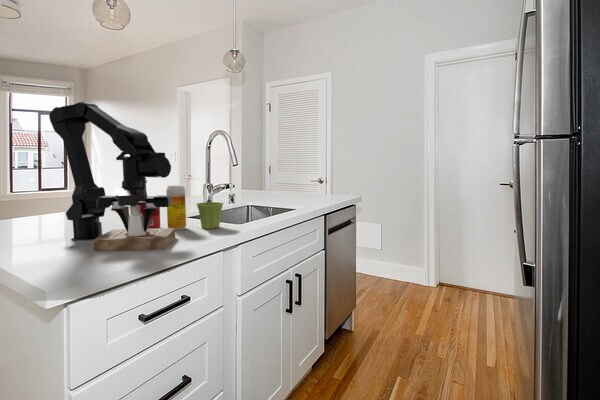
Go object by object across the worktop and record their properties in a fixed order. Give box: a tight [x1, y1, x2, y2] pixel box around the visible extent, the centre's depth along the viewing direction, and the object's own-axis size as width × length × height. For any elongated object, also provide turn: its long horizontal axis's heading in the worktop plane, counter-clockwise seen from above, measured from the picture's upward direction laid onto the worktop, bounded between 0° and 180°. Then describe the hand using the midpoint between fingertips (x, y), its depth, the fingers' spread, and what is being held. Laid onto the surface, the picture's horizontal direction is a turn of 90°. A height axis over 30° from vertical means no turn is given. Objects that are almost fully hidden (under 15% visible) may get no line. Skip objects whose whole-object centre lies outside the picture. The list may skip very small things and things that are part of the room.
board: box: [92, 227, 176, 252], centre depth 100 cm, size 18×14×3 cm
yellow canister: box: [165, 185, 187, 231], centre depth 121 cm, size 6×6×15 cm
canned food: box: [139, 195, 161, 229], centre depth 121 cm, size 8×8×11 cm
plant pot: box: [195, 201, 224, 230], centre depth 124 cm, size 9×9×9 cm
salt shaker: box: [127, 205, 146, 236], centre depth 99 cm, size 5×5×11 cm
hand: (137, 231), depth 99 cm, fingers open, 4 cm apart
